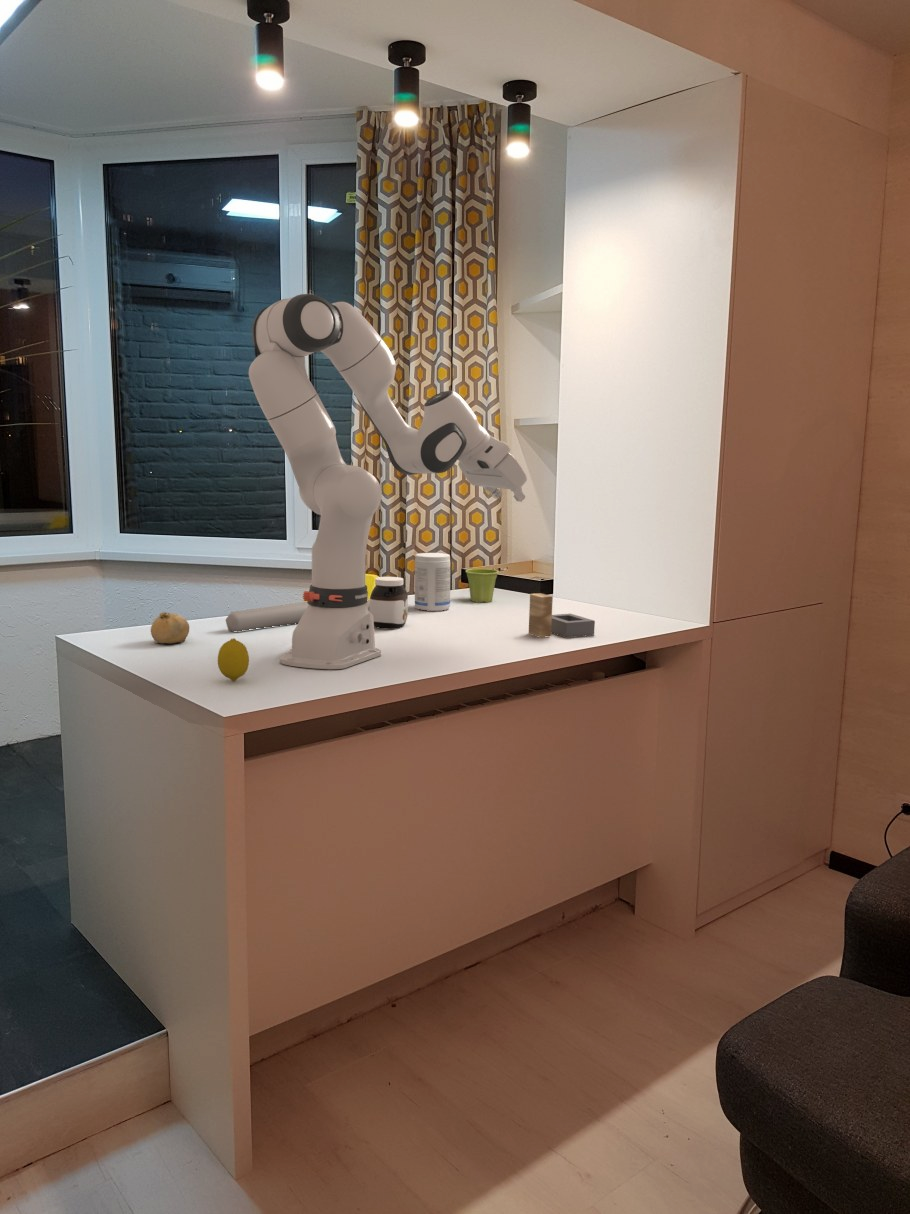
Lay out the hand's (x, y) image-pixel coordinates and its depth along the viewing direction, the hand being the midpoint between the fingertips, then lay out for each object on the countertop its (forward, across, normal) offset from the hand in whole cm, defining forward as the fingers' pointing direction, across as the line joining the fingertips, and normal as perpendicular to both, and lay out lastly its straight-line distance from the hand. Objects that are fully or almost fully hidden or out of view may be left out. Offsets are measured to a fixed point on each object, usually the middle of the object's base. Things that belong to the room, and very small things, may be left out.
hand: (509, 498), depth 211 cm
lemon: (-24, +17, -74) cm, 80 cm away
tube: (-7, -29, -56) cm, 64 cm away
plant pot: (+37, -40, -8) cm, 55 cm away
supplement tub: (+24, -35, -22) cm, 47 cm away
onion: (-25, -21, -76) cm, 82 cm away
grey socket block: (+33, +6, -11) cm, 35 cm away
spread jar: (+9, -20, -38) cm, 44 cm away
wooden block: (+28, +6, -17) cm, 33 cm away
